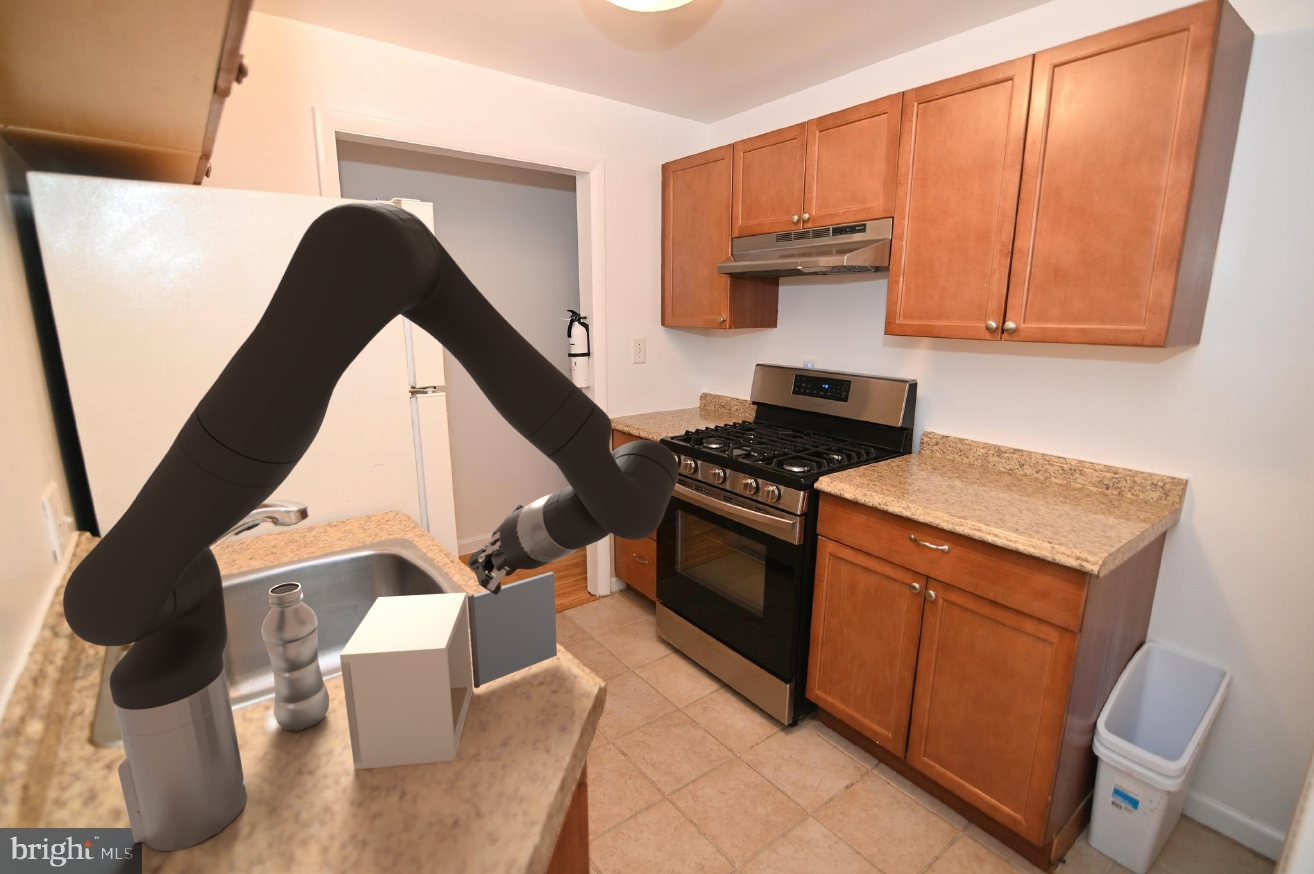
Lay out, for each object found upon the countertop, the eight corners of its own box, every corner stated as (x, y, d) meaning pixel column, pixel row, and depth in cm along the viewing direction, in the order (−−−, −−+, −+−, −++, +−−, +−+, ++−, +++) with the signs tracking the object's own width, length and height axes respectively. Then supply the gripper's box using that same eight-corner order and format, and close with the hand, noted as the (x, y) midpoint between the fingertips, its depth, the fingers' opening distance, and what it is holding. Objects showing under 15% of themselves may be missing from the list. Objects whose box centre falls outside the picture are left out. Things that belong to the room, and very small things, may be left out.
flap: (557, 656, 96) (554, 572, 92) (475, 689, 88) (468, 597, 84) (554, 654, 96) (551, 570, 93) (472, 685, 88) (466, 595, 85)
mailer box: (354, 769, 74) (339, 654, 70) (389, 696, 87) (378, 597, 84) (454, 760, 75) (444, 648, 72) (473, 690, 89) (466, 592, 85)
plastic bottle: (300, 743, 78) (279, 605, 73) (265, 729, 80) (242, 594, 76) (342, 712, 84) (325, 582, 79) (308, 700, 86) (289, 573, 82)
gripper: (541, 470, 74) (473, 510, 85) (498, 561, 65) (428, 592, 76) (586, 504, 77) (514, 538, 88) (550, 594, 68) (476, 620, 79)
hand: (474, 563), depth 82 cm, fingers closed
